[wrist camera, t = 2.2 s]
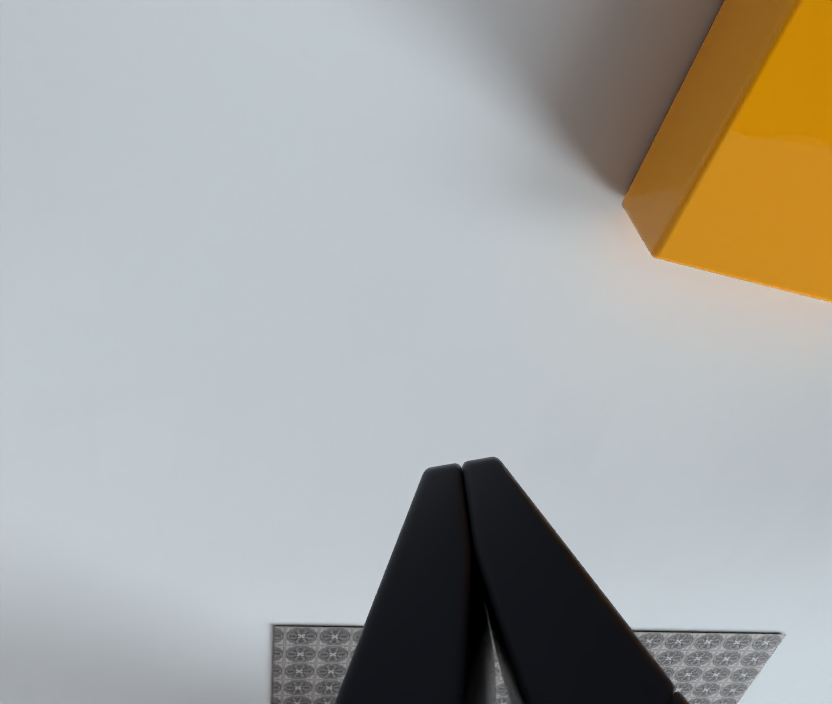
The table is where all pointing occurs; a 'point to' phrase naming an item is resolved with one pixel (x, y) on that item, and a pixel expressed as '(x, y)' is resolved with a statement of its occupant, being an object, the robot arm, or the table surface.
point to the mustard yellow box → (748, 152)
